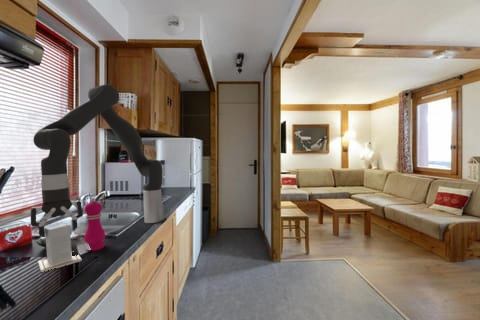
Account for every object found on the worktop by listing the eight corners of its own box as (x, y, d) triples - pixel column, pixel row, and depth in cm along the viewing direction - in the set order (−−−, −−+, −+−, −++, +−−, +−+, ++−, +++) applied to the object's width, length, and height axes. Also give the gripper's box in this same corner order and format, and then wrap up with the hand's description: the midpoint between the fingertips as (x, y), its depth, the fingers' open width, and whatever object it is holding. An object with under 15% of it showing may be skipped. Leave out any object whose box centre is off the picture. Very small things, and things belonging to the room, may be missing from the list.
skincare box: (66, 255, 87) (64, 223, 87) (72, 257, 85) (70, 224, 85) (46, 262, 82) (44, 227, 82) (51, 265, 80) (49, 229, 79)
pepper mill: (80, 249, 94) (77, 199, 93) (98, 243, 100) (96, 195, 99) (91, 253, 90) (88, 200, 89) (109, 246, 97) (107, 197, 96)
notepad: (75, 252, 91) (75, 250, 91) (81, 260, 84) (81, 258, 84) (38, 262, 83) (38, 260, 83) (41, 272, 76) (41, 270, 76)
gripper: (77, 183, 90) (80, 225, 91) (27, 189, 80) (31, 236, 81) (82, 185, 85) (85, 230, 86) (29, 191, 75) (33, 242, 76)
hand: (59, 233), depth 83 cm, fingers open, 8 cm apart
